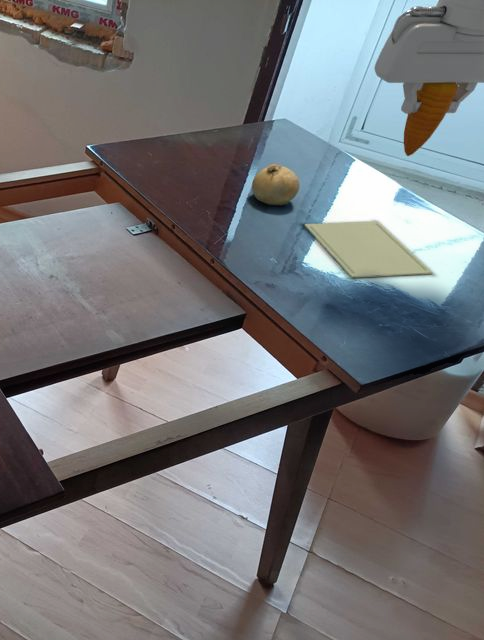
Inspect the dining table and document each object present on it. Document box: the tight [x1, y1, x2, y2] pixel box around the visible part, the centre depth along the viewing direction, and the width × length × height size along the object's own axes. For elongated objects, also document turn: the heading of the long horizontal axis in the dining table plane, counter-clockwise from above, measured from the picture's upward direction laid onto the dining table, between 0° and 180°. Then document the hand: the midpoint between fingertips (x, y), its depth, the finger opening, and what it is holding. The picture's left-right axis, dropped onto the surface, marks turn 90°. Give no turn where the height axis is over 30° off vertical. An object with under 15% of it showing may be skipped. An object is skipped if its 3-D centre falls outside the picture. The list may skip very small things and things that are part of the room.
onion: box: [251, 162, 301, 206], centre depth 123 cm, size 8×8×7 cm
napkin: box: [304, 220, 433, 279], centre depth 114 cm, size 16×14×1 cm
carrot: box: [403, 83, 458, 157], centre depth 97 cm, size 5×5×15 cm
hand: (427, 112), depth 98 cm, fingers closed on carrot, 5 cm apart
